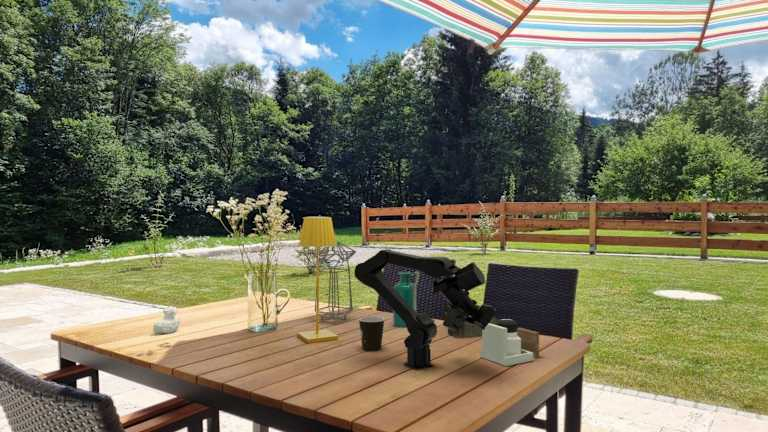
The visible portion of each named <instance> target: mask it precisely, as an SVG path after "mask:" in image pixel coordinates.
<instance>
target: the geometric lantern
mask: <svg viewBox="0 0 768 432" xmlns="http://www.w3.org/2000/svg"><path fill="white" fill-rule="evenodd" d="M335 240H336V241H337V245H334V246H333V247H332V246H331V249H330V247H325V246H323V248H322V249H321V250H320V251H319V252H318V253H319V269H318V270H319V273H329V282H328V284H329V286H328V306H325V307H321V308H318V309H319V310H318V311H319V316H320V322H323V323H332V324H337V323H338V324H339V323H342V322H344V321H347V316H348V315H349V314H350V313H352V311H354V309H353V299H352V298H353V296H352V284H351V268H350V265H349V260H350V259H351V258H352V257H353V256H354V255H355V254H356V253H357V251H356V250H355V249H352V248H351V247H349V246H347V245H345V243H342V242H340V241H338V240H337V239H335ZM344 247H345V248H347V249H348V250H346V249H344ZM349 250H350V251H349ZM316 251H317V250H316V248H315V249H313V250H311V251H310V252H309V254H311V255H312V256H313V257H315V258H316V259H317V256H318V255H317V254H316ZM329 252H332V253H329ZM335 255H336V256H338V257H339V259H338V260H337V261H336V264H335V265H334V267H332V266H331V264H330V263H329V259H331V258H333V257H334V256H335ZM320 256H321V257H320ZM327 256H328V257H327ZM326 257H327V258H326ZM340 261H342V262H341V263H340V265H339V268H338V267H337V265H338V264H339V262H340ZM344 262H346V263H347V268H341V267H342V265H343V264H344ZM322 263H326V265H327V268H323V269H321V266H322ZM327 270H329V271H327ZM336 270H337V271H336ZM339 270H340V271H339ZM342 272H343V273H344V272H347V273H348V285H349V287H348V288H349V289H348V290H349V307H345V306H340V297H339V296H340V295H339V279H338V277H339V276H338V274H339V273H342ZM315 287H316V289H315V291H316V292H315V296H316V295H317V286H315ZM336 294H337V295H336ZM336 297H337V306H336ZM330 300H331V301H330ZM330 304H331V305H330ZM330 308H331V309H330ZM335 308H337V311H338V312H335V313H334V311H335ZM325 309H328V312H325V311H321V310H325ZM340 309H345V311H342V312H340V311H341V310H340ZM314 312H315V313H316V300H315V303H314ZM320 313H321V314H324V315H321V314H320ZM328 315H329V316H328ZM336 315H337V316H336ZM339 315H340V316H339ZM343 317H344V318H343ZM330 319H332V320H334V321H328V320H330Z"/></svg>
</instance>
